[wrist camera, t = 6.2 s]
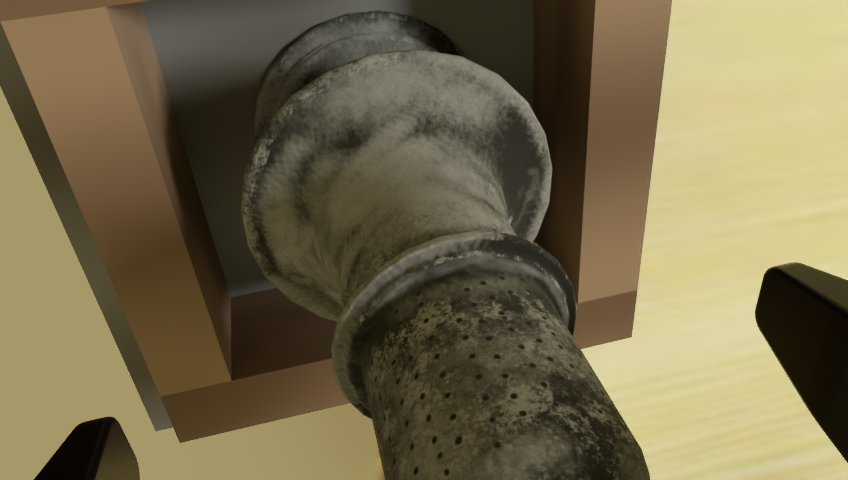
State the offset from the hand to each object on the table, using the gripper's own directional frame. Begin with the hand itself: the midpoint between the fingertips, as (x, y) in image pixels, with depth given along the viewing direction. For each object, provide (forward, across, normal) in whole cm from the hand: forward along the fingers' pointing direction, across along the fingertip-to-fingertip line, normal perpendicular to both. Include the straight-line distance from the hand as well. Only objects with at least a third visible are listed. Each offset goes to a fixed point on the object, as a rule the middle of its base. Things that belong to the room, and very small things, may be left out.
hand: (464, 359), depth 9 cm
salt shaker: (+8, 0, 0) cm, 8 cm away
